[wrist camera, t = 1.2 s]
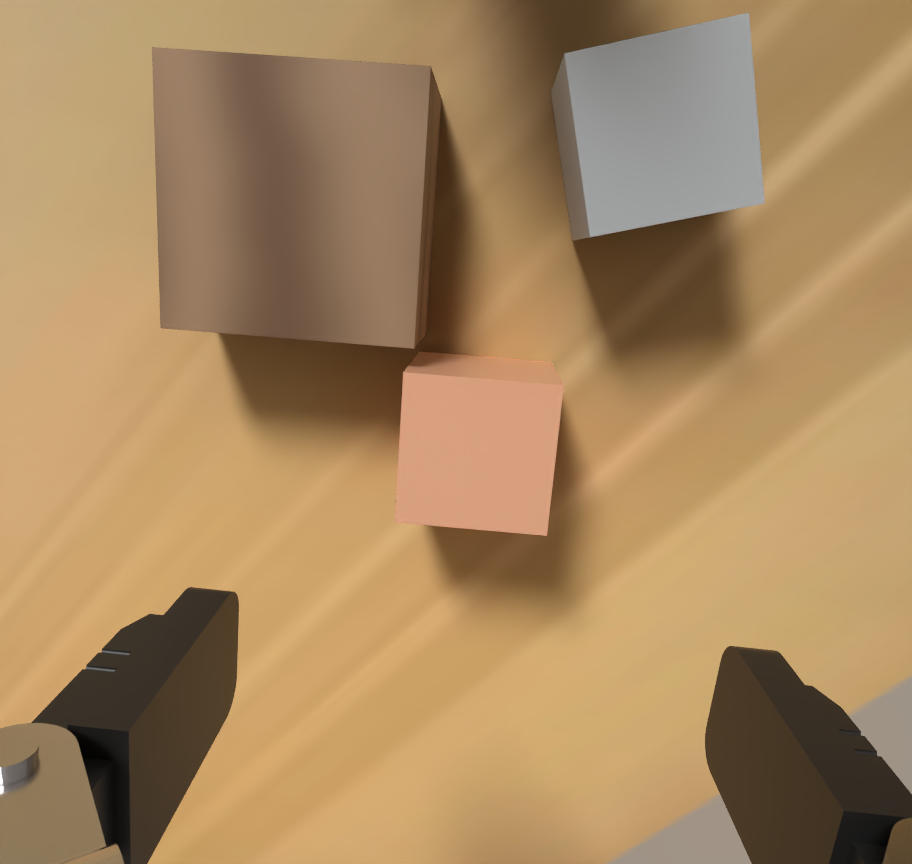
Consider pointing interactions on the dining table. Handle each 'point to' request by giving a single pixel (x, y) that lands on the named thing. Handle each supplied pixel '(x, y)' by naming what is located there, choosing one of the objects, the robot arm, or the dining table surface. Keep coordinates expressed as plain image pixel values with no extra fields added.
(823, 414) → the dining table surface
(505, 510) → the terracotta cube
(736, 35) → the slate cube
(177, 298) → the walnut base block
